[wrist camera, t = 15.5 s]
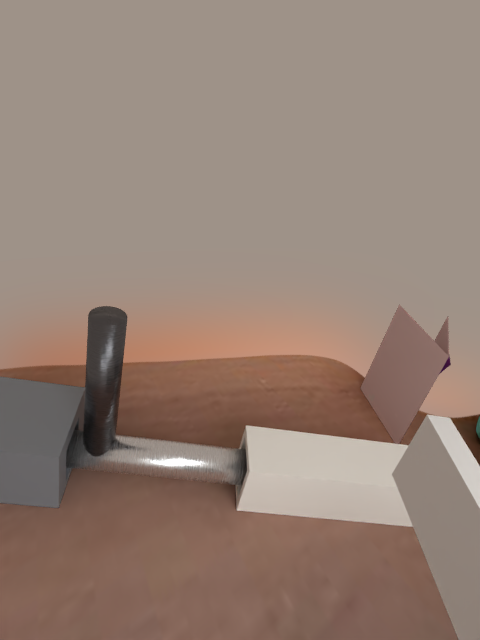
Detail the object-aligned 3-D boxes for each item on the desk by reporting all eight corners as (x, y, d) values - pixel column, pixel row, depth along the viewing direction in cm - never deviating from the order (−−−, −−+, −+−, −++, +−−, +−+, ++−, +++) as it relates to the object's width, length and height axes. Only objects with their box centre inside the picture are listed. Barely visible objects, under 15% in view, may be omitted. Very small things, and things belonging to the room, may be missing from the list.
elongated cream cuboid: (393, 480, 53) (414, 446, 50) (412, 526, 48) (436, 491, 45) (234, 463, 50) (246, 425, 47) (236, 510, 45) (249, 471, 42)
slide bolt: (280, 469, 49) (331, 339, 40) (285, 497, 46) (341, 363, 37) (36, 442, 46) (31, 292, 36) (23, 471, 42) (14, 315, 33)
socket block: (83, 435, 49) (85, 387, 45) (58, 508, 41) (59, 457, 38) (-14, 424, 48) (-19, 374, 44) (-57, 497, 40) (-68, 443, 36)
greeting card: (403, 449, 58) (456, 359, 51) (349, 425, 60) (392, 334, 52) (409, 400, 68) (454, 318, 60) (362, 381, 69) (400, 298, 62)
